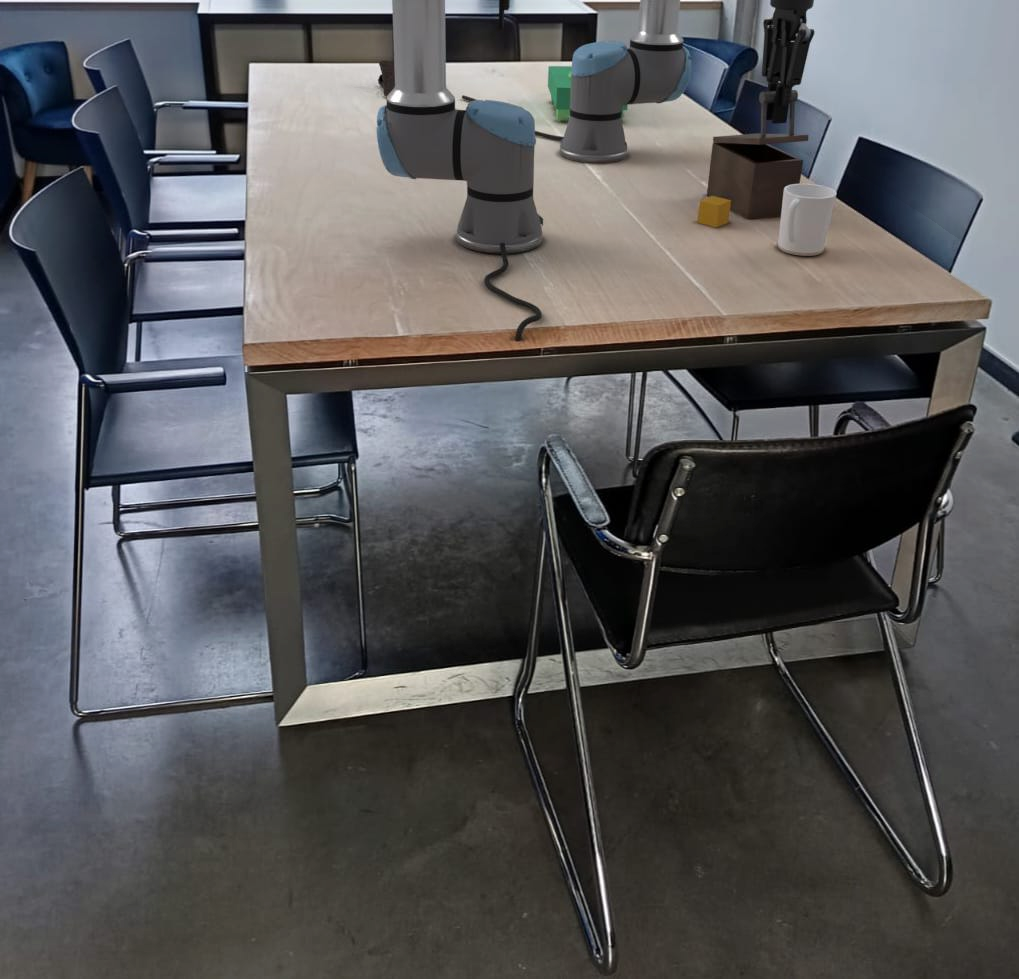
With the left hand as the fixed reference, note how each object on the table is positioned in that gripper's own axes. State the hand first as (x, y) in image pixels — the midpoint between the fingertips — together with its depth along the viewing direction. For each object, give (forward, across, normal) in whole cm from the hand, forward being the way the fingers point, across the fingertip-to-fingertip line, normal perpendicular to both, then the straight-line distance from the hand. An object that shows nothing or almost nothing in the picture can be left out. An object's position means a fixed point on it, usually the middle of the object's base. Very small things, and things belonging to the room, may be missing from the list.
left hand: (468, 26), depth 224 cm
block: (+28, -52, +32) cm, 67 cm away
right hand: (+11, -62, +23) cm, 67 cm away
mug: (+28, -66, +45) cm, 85 cm away
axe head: (+28, +29, -69) cm, 80 cm away
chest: (+28, -60, +19) cm, 68 cm away
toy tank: (+28, -21, -59) cm, 69 cm away
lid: (+16, -60, +19) cm, 65 cm away
